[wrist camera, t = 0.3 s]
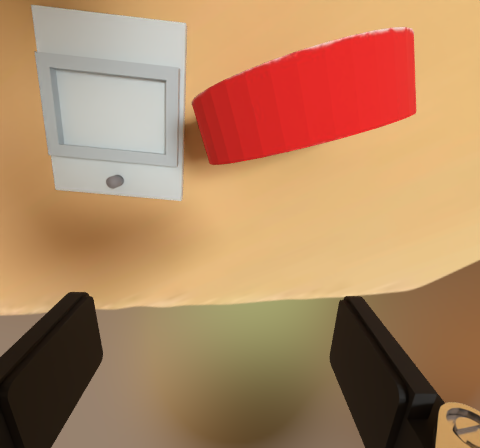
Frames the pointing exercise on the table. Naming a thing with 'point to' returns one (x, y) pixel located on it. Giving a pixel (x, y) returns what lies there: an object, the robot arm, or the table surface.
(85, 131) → the white cabinet door
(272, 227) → the table surface
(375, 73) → the toy clock
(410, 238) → the table surface
